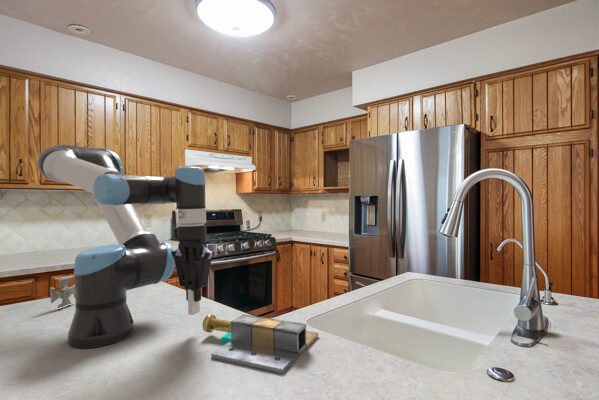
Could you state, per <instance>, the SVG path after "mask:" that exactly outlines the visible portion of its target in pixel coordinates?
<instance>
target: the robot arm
mask: <svg viewBox="0 0 599 400" xmlns="http://www.w3.org/2000/svg"><path fill="white" fill-rule="evenodd" d="M36 163H37V169H38V170H39V173H41V174H42V176H43V177H45V178H46V179H49V180H51V181H53V182H55V183H67V184H69V185H71V186H74V187H77V188H78V189H79V188H80V189H82V190H84V191H85V192H88V193H91V194H92V195H93V197H94V199H95V200H96V203H97V204H98V206H99V208H100V210H101V212H102V214H103V216H104V217H105V220H106V222H107V224H108V226H109V228H110V230H111V231H112V233H113V235H114V237H115V239H116V240H117V243H118V244H116V243H114V244H113V243H112V244H107V245H100V246H95V247H91V248H88V249H84V250H82V251H81V252H79V253H78V254H77V255H76V256H75V259H74V267H73V268H74V269H73V274H74V284H75V298H74V299H75V301H74V302H75V311H74V315H73V317H72V321H71V324H70V327H69V330H68V332H67V344H68V346H70V347H72V348H77V349H79V348H80V349H87V348H88V349H89V348H97V347H103V346H109V345H111V344H114V343H117V342H120V341H123V340H124V339H127V338H129V337H130V336H132V334H134V333H135V321H134V319H133V316H132V314H131V311H130V308H129V305H128V304H127V291H129V290H133V289H137V288H142V287H147V286H150V285H155V284H156V285H157V284H158V283H160V282H165V281H166V280H168V279H169V278H170V277H171V276H172V274H173V273H174V271H175V270H176V274H177V279H178V283H179V286H180V287H184V288H185V296H186V297H185V298H186V299H185V300H186V301H187V310H188V315H191V316H194V315H196V314H198V313H200V312H201V311H200V309H201V307H200V301H201V300H202V288H203V287H207V286H208V283H209V276H210V272H211V271H210V269H211V265H212V259H213V258H214V256H215V251H214V250H210V249H208V248H207V246H208V245H207V243H206V239H207V237H208V236H207V226H206V225H205V224H206V223H207V209H206V184H207V183H206V178H205V171H204V169H203V168H202V167H199V166H179V167H176V169H175V172H174V176H153V175H133V174H125V173H124V171H123V169H124V167H123V163H122V159H121V158H120V156H119V155H118V154H117V153H116V152H115V151H114V150H110V149H106V148H102V147H101V148H100V147H99V148H98V147H88V146H78V145H71V144H57V145H53V146H49V147H48V148H46V149H44V150H43V151H42V152H40V153H39V156H38V159H37V162H36ZM166 204H176V208H175V209H176V224H177V225H178V226H177V227H176V238H177V240H178V241H179V243H178V245H177V246H178V247H177V248H176V249H174V248H173V246H172V245H171V244H170V243H167V242H163V241H162V242H160V241H159V239H158V237H157V236H156V234H155V233H154V232H149V231H148V230H147V229H146V227H145V226H144V223H143V221H142V220H141V217H139V215H138V213H137V211H136V209H135V207H134V206H133V205H166Z"/></svg>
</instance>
